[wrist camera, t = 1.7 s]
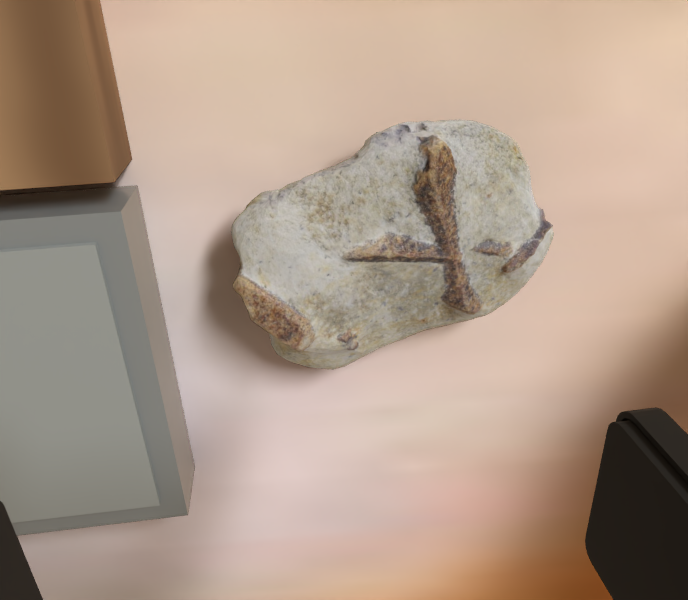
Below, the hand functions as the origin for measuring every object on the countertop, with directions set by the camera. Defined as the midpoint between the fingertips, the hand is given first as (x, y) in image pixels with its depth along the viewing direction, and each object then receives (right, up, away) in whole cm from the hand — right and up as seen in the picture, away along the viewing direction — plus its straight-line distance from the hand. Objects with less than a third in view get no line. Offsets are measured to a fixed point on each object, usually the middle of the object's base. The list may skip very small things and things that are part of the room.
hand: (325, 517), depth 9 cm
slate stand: (-14, +1, +16) cm, 21 cm away
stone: (-2, +8, +15) cm, 17 cm away
